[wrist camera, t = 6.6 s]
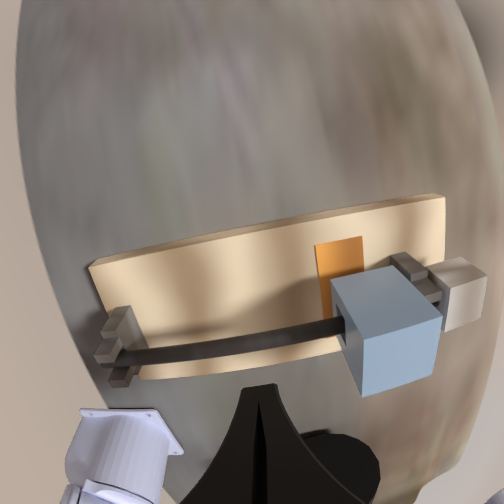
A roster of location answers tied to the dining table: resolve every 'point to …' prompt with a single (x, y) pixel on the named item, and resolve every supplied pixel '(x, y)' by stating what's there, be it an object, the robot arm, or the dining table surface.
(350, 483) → the black cylinder
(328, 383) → the dining table surface
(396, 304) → the light blue block
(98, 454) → the robot arm
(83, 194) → the dining table surface
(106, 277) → the cord board
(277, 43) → the dining table surface
